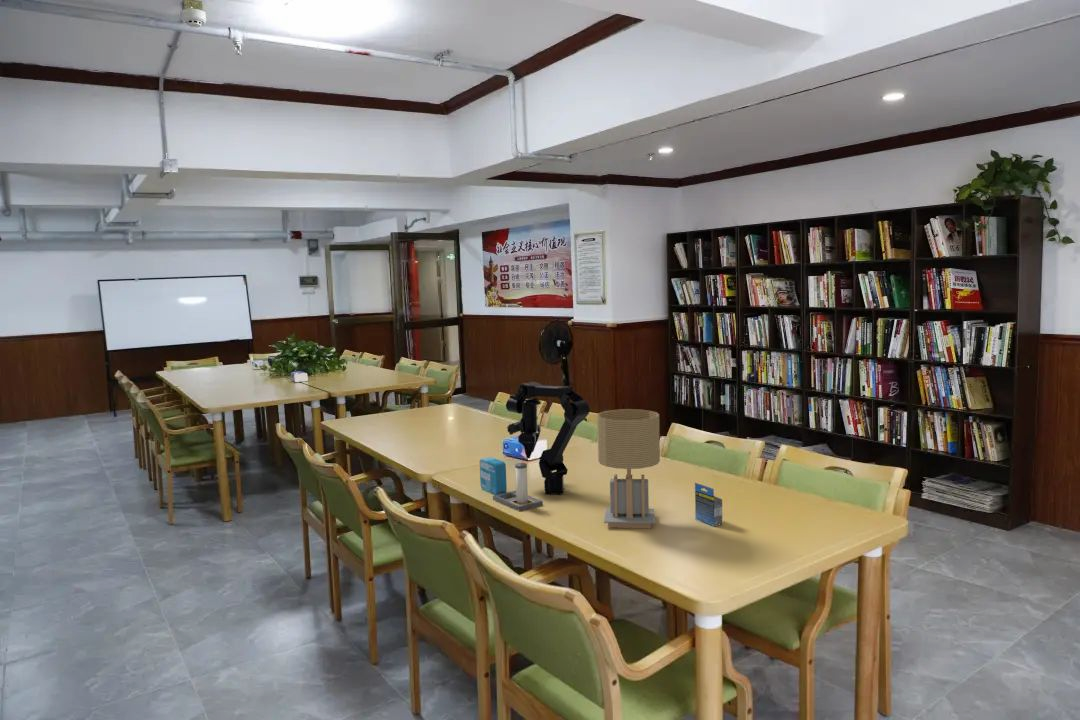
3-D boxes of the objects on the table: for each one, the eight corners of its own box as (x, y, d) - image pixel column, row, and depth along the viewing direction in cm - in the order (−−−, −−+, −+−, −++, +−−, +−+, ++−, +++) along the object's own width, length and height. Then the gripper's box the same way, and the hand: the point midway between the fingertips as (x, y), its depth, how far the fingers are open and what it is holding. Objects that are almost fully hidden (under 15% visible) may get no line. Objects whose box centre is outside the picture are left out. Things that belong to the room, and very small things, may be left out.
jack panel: (515, 494, 264) (515, 490, 264) (542, 505, 251) (542, 500, 250) (493, 499, 259) (492, 495, 258) (519, 511, 245) (518, 506, 245)
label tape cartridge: (723, 524, 225) (723, 486, 224) (713, 527, 224) (713, 488, 222) (703, 517, 233) (703, 480, 232) (694, 519, 231) (694, 482, 230)
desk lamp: (597, 532, 222) (595, 420, 218) (601, 511, 242) (598, 409, 238) (661, 533, 220) (660, 420, 216) (659, 512, 239) (658, 409, 235)
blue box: (480, 488, 273) (479, 458, 272) (490, 486, 276) (489, 456, 275) (496, 495, 264) (495, 464, 262) (507, 493, 266) (505, 462, 265)
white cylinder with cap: (526, 503, 253) (524, 462, 251) (529, 507, 249) (528, 465, 247) (515, 505, 252) (513, 463, 250) (518, 508, 248) (517, 466, 246)
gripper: (512, 410, 282) (513, 448, 284) (504, 420, 263) (505, 461, 265) (540, 410, 280) (541, 449, 282) (534, 420, 262) (534, 461, 264)
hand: (530, 455), depth 274 cm, fingers open, 9 cm apart
